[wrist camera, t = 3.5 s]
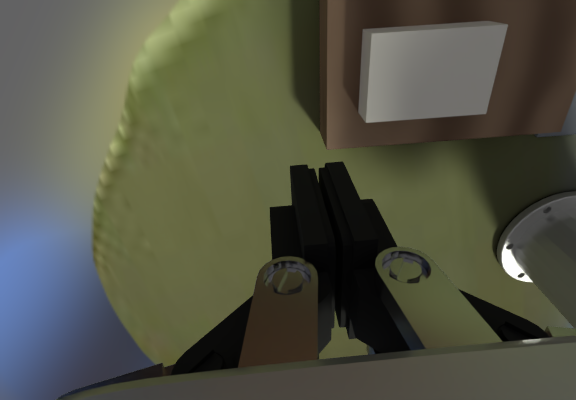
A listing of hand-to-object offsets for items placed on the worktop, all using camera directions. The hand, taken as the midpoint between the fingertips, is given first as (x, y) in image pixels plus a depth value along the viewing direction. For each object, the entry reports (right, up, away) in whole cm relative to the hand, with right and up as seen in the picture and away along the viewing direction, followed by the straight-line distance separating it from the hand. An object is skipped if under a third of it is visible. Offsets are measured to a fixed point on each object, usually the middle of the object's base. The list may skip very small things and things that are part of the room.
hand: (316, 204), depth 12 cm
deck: (+12, +12, +19) cm, 25 cm away
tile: (+9, +10, +15) cm, 20 cm away
